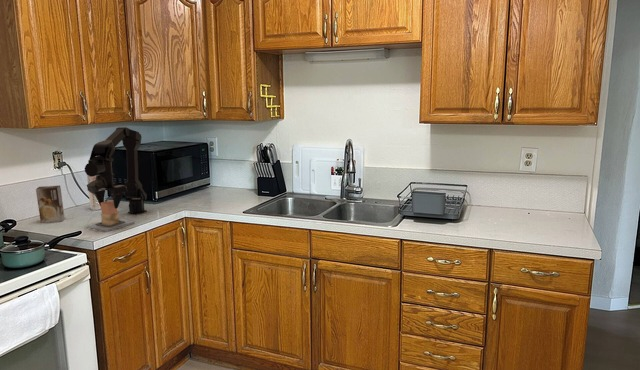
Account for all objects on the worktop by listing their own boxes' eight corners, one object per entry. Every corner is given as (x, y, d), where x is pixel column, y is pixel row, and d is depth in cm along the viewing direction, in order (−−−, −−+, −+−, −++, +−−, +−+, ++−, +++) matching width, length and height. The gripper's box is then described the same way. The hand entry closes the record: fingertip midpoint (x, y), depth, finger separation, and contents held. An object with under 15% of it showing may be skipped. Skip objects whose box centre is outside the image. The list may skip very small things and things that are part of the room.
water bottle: (90, 210, 239) (84, 161, 234) (90, 207, 245) (85, 159, 240) (105, 209, 242) (100, 160, 237) (105, 206, 248) (100, 158, 243)
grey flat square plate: (114, 220, 221) (114, 217, 220) (134, 223, 215) (134, 220, 214) (86, 228, 207) (85, 225, 207) (106, 231, 202) (106, 228, 201)
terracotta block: (110, 211, 213) (109, 200, 212) (117, 212, 211) (116, 201, 210) (101, 213, 209) (100, 202, 208) (108, 214, 207) (107, 203, 206)
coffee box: (65, 218, 225) (61, 185, 222) (62, 221, 219) (57, 187, 216) (43, 219, 223) (39, 186, 220) (39, 223, 217) (35, 188, 214)
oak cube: (111, 221, 214) (110, 211, 213) (119, 223, 212) (118, 212, 211) (102, 224, 210) (100, 213, 209) (109, 225, 208) (108, 214, 207)
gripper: (74, 174, 204) (78, 209, 207) (104, 177, 195) (108, 213, 198) (97, 170, 213) (100, 203, 216) (126, 172, 205) (129, 207, 208)
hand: (109, 207), depth 209 cm, fingers open, 9 cm apart
